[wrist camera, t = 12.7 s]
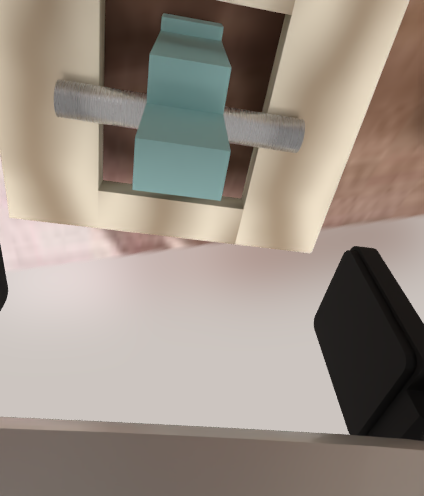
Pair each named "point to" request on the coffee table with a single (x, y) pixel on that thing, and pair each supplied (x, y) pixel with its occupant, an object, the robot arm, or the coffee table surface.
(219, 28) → the teal stepped block
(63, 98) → the cream frame
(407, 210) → the coffee table surface
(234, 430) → the robot arm
